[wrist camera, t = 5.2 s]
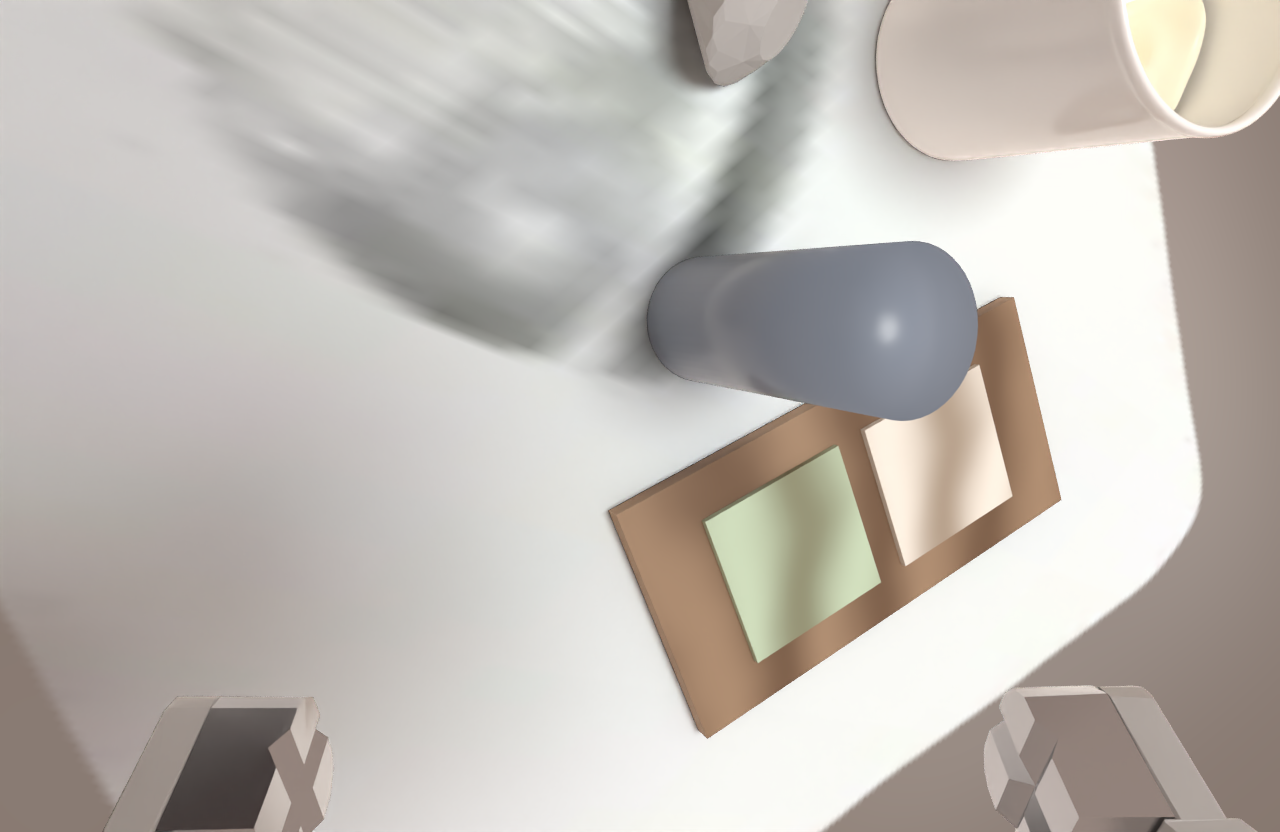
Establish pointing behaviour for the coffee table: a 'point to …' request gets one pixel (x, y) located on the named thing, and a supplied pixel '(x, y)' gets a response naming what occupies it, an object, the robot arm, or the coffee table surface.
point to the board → (833, 525)
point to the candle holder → (1074, 72)
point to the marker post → (822, 325)
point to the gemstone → (742, 34)
